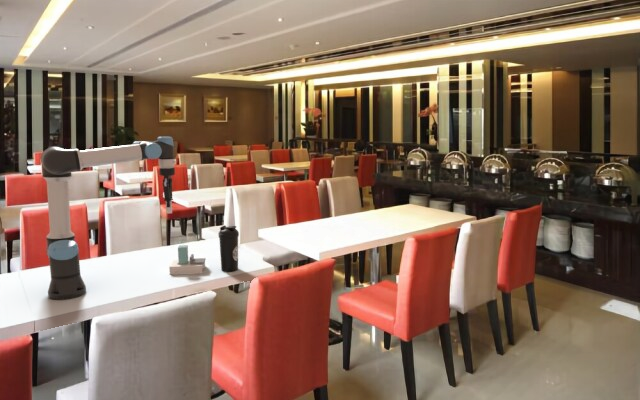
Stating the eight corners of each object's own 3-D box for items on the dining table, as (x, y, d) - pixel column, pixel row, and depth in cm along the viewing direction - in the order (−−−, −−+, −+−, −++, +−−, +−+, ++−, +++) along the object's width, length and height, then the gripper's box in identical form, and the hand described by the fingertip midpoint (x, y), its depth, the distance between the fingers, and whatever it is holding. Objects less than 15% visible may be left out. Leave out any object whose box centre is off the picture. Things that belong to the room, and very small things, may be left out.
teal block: (179, 270, 249) (177, 247, 247) (180, 267, 253) (179, 245, 251) (187, 270, 249) (186, 247, 247) (188, 267, 253) (187, 245, 251)
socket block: (169, 274, 245) (169, 266, 244) (174, 267, 256) (173, 259, 256) (202, 273, 246) (201, 265, 246) (205, 266, 258) (204, 259, 258)
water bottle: (235, 273, 247) (234, 229, 243) (216, 271, 249) (215, 228, 245) (242, 267, 257) (241, 224, 253) (224, 266, 259) (222, 223, 255)
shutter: (189, 264, 247) (189, 258, 247) (191, 260, 254) (191, 254, 254) (203, 263, 248) (203, 257, 248) (205, 259, 255) (205, 253, 255)
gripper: (172, 168, 240) (174, 215, 244) (176, 166, 253) (178, 210, 257) (156, 168, 239) (159, 215, 243) (162, 166, 252) (164, 210, 256)
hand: (169, 213), depth 250 cm, fingers closed
